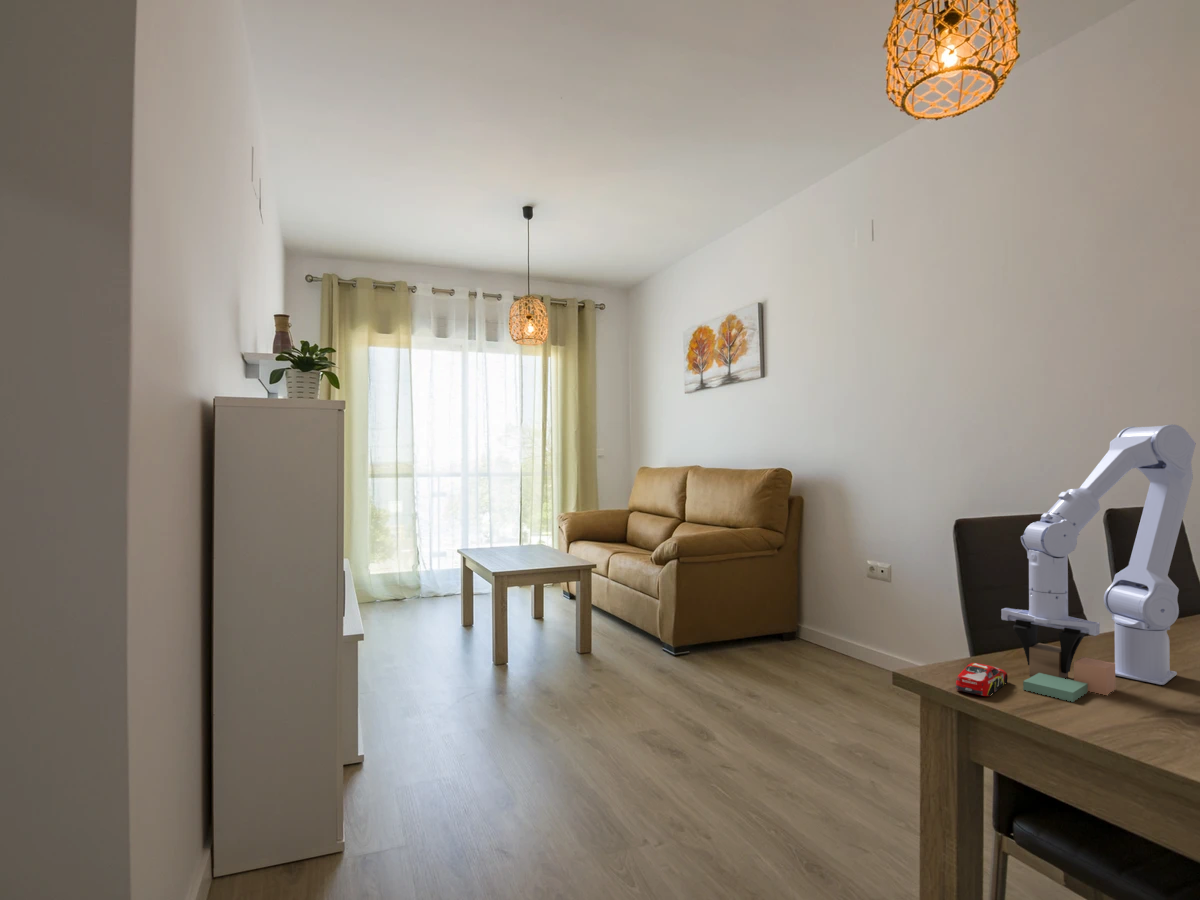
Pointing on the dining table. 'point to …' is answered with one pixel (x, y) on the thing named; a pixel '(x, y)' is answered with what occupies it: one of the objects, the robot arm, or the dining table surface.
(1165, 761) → the dining table surface
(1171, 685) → the dining table surface
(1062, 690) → the base plate
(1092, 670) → the terracotta brick
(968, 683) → the race car
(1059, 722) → the dining table surface
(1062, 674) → the walnut brick
